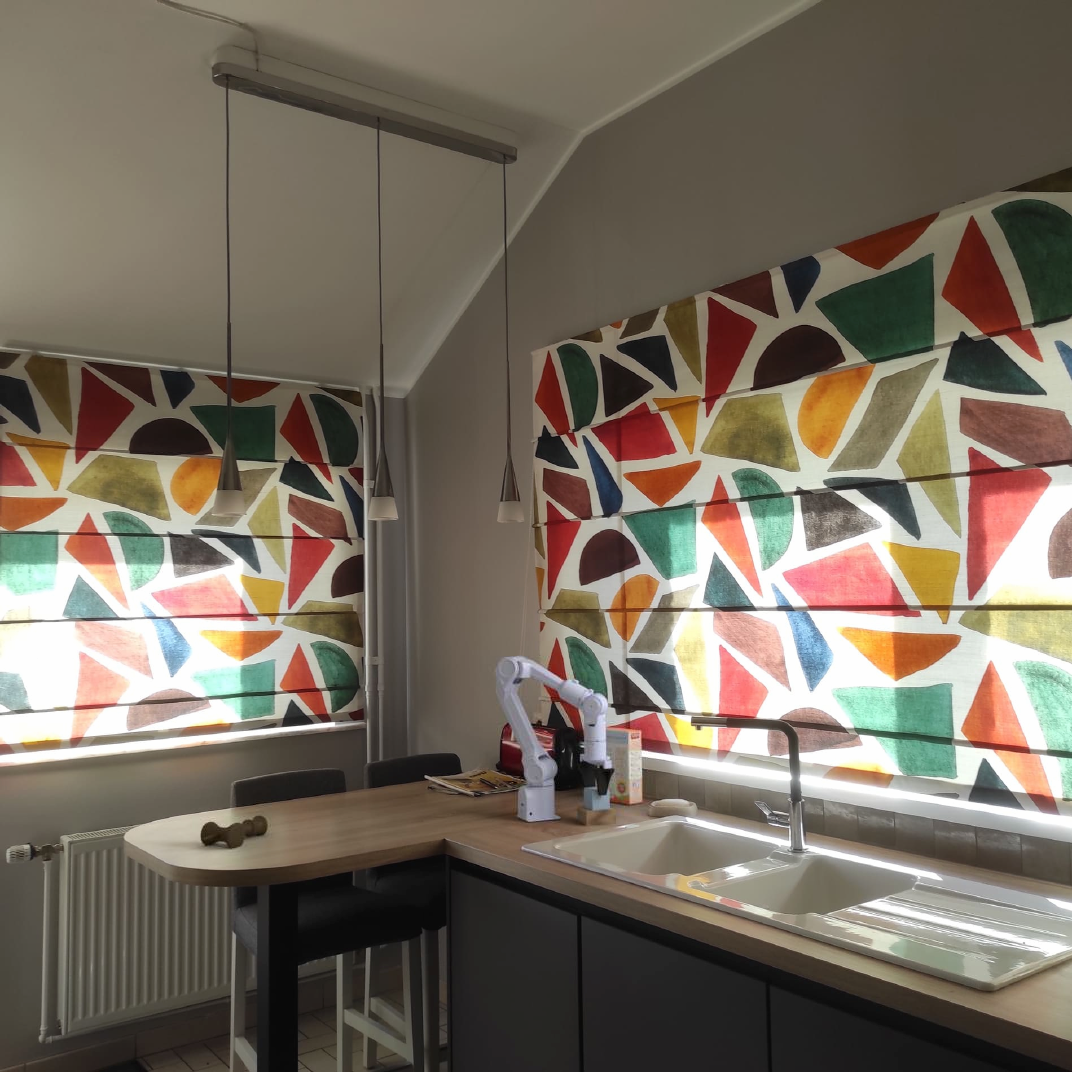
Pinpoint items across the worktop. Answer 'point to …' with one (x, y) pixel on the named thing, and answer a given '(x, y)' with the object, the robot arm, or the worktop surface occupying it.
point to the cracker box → (625, 765)
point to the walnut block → (596, 816)
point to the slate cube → (596, 799)
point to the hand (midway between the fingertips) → (595, 792)
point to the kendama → (233, 832)
